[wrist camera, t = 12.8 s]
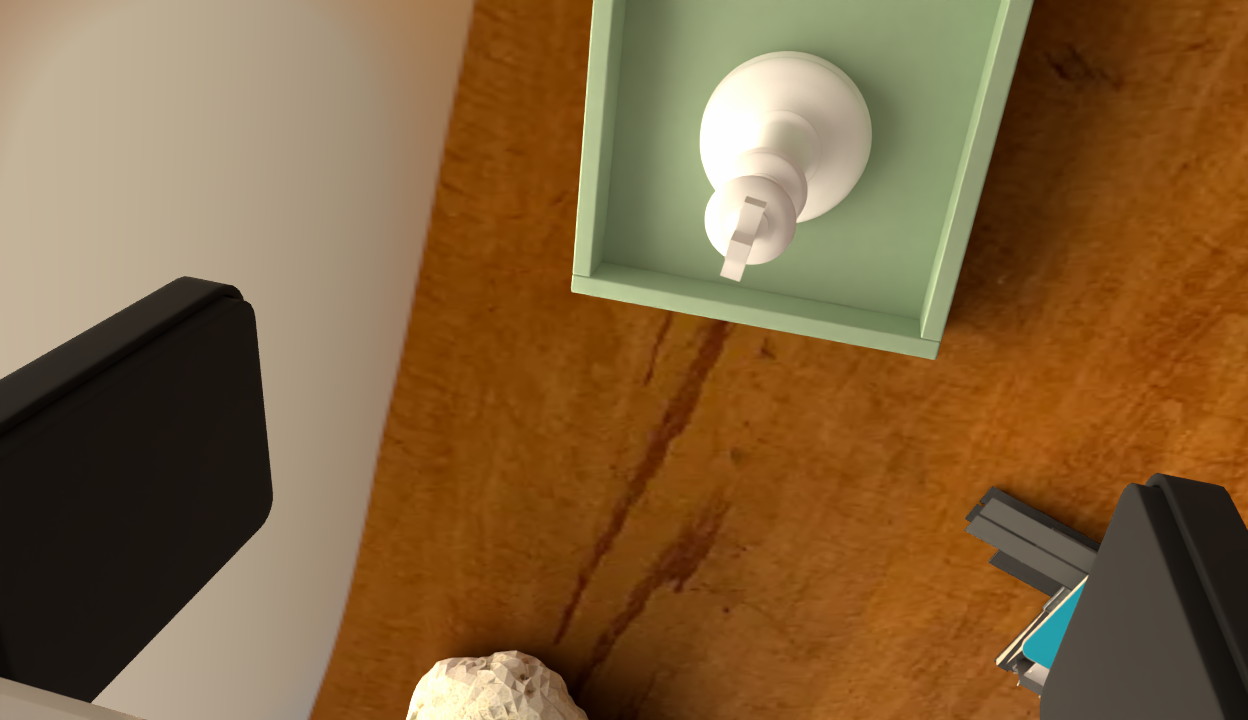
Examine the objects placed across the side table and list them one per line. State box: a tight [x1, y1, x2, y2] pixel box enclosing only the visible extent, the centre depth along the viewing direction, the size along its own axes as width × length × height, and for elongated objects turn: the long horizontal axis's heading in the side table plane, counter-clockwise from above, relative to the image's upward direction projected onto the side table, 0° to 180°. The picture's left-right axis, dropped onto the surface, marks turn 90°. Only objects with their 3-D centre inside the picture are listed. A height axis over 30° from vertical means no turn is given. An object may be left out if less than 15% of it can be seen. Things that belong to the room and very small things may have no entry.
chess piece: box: [700, 51, 872, 282], centre depth 24 cm, size 5×5×10 cm
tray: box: [571, 0, 1034, 360], centre depth 28 cm, size 11×11×2 cm
